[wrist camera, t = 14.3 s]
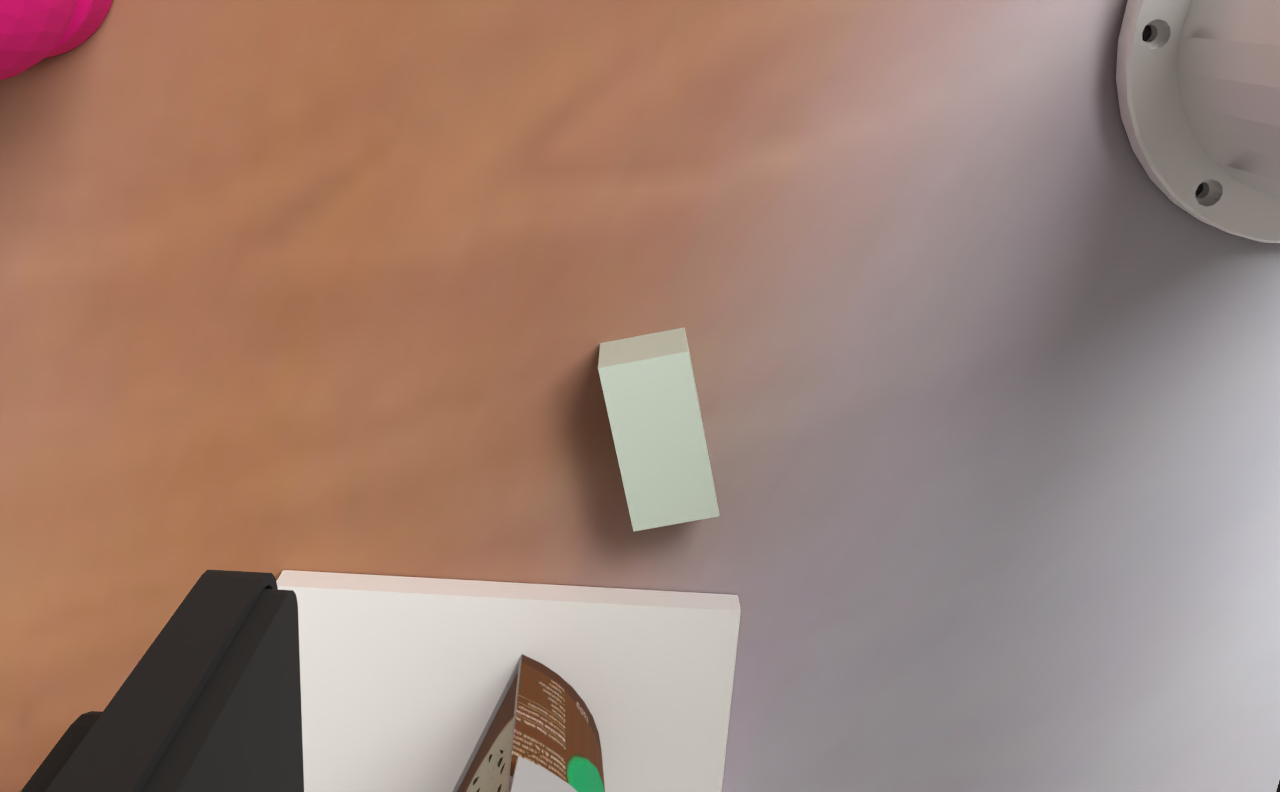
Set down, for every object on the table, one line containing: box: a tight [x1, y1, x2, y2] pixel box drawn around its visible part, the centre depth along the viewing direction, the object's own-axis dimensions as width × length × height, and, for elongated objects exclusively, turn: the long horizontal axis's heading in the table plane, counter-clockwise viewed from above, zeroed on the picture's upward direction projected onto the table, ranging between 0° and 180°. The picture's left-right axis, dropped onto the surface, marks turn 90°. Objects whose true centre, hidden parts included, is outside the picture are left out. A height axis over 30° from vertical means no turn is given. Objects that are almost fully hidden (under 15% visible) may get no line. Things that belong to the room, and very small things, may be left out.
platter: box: [276, 570, 741, 792], centre depth 46 cm, size 17×16×1 cm
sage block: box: [598, 327, 720, 532], centre depth 41 cm, size 6×3×3 cm, turn 11°
